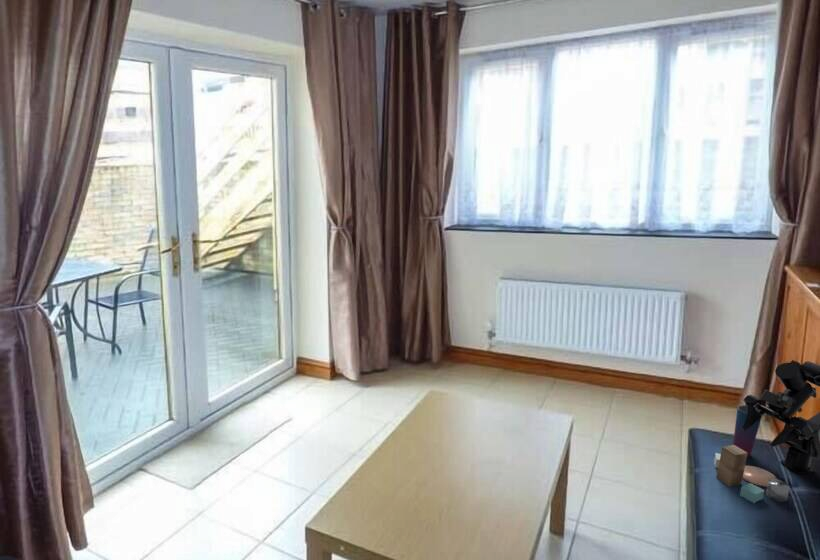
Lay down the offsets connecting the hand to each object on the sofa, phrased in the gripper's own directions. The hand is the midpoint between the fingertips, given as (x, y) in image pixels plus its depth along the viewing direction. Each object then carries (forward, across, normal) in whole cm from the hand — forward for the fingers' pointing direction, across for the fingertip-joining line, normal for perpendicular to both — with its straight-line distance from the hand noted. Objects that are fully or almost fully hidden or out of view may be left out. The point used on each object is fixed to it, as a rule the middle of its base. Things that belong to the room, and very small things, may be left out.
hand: (757, 437), depth 162 cm
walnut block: (+15, 0, +4) cm, 15 cm away
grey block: (+12, -7, +7) cm, 15 cm away
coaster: (+8, +1, +11) cm, 13 cm away
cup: (+3, -11, +16) cm, 19 cm away
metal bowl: (+10, +10, +8) cm, 16 cm away
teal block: (+15, +8, +3) cm, 17 cm away
